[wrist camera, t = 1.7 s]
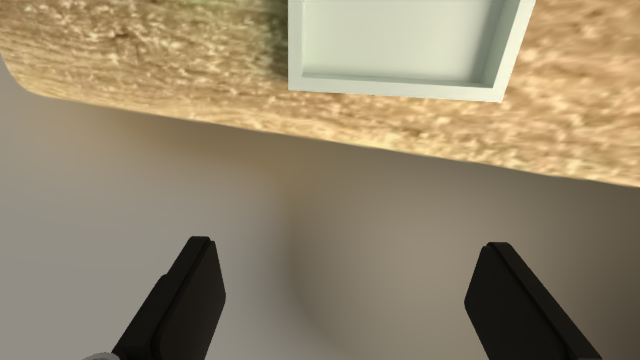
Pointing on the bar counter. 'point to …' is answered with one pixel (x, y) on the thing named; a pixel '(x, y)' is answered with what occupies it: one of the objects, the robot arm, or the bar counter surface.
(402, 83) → the tray
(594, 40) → the bar counter surface
